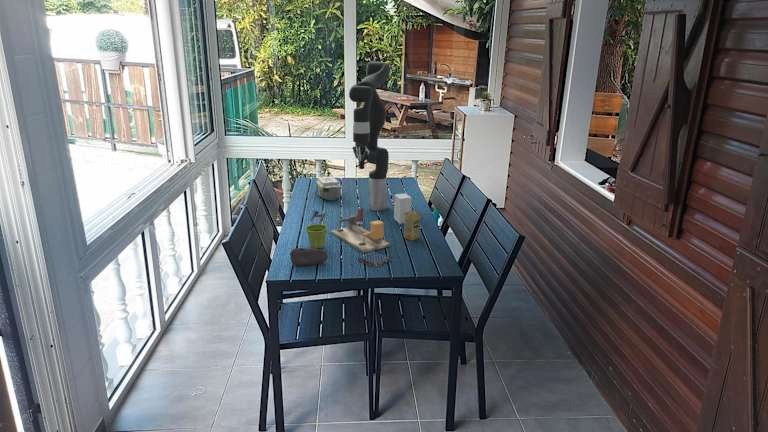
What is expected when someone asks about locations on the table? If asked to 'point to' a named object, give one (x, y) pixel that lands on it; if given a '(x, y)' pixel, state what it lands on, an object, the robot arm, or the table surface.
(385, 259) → the woven mat
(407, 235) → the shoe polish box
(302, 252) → the perforated stone tool
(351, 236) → the board
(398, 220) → the small box
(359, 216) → the hand axe
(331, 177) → the grey lidded box
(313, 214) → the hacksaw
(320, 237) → the plant pot
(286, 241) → the table surface
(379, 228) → the block
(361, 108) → the robot arm
